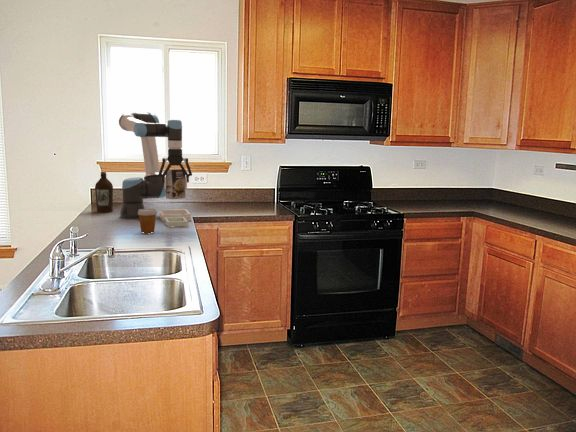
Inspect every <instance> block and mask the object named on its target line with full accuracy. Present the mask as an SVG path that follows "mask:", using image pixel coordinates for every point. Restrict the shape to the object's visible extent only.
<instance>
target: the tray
mask: <svg viewBox="0 0 576 432" xmlns="http://www.w3.org/2000/svg"><path fill="white" fill-rule="evenodd" d="M164 220H165V222H164V224H165V226H166V225H167V226H168V227H170V228H172V227H171V226H188V227H189V221H187V220H186V219H185V218H184V217H170V218H164ZM167 226H166V227H167ZM168 227H167V228H168Z"/></svg>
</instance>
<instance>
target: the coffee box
mask: <svg viewBox="0 0 576 432" xmlns="http://www.w3.org/2000/svg"><path fill="white" fill-rule="evenodd" d="M165 177H166V196H165V198H166V199H168V200H181V199H186V189H185V177H186V175H185V173H184V171H183V170H182V169H181V168H172V169H171V168H170V169H169V170H168V172H167V173H166V175H165Z"/></svg>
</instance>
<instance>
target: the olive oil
mask: <svg viewBox="0 0 576 432" xmlns="http://www.w3.org/2000/svg"><path fill="white" fill-rule="evenodd" d="M94 193H95V202H96V212H97V213H112V212H114V211H113V210H114V209H113V206H114V198H113V197H114V196H113V195H114V186H113V183H112V182H111V181H110V180H109V179H108V178H107V172H106V171H100V177H99V180H97V182H96V183H95V185H94Z"/></svg>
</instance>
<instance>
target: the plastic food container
mask: <svg viewBox="0 0 576 432" xmlns="http://www.w3.org/2000/svg"><path fill="white" fill-rule="evenodd" d="M158 211H159V213H158V215H159V219H160V220H161V221H162V222H163V221H165V220H164V218H170V217H184V218H185V219H186V220H187V221H188V222H189V221H191V217H192V216H191V212H189V210H187V209H186V208H181V209H178V208H177V209H159V210H158Z"/></svg>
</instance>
